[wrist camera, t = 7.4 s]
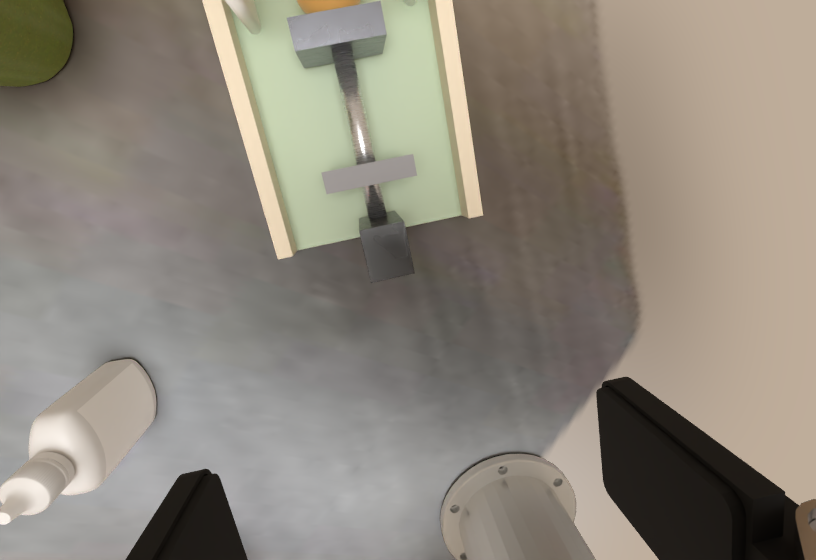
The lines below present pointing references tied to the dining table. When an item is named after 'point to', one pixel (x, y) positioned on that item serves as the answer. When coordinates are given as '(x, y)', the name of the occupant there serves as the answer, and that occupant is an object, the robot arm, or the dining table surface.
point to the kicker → (357, 118)
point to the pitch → (327, 125)
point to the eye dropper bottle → (81, 438)
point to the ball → (324, 5)
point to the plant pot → (33, 40)
